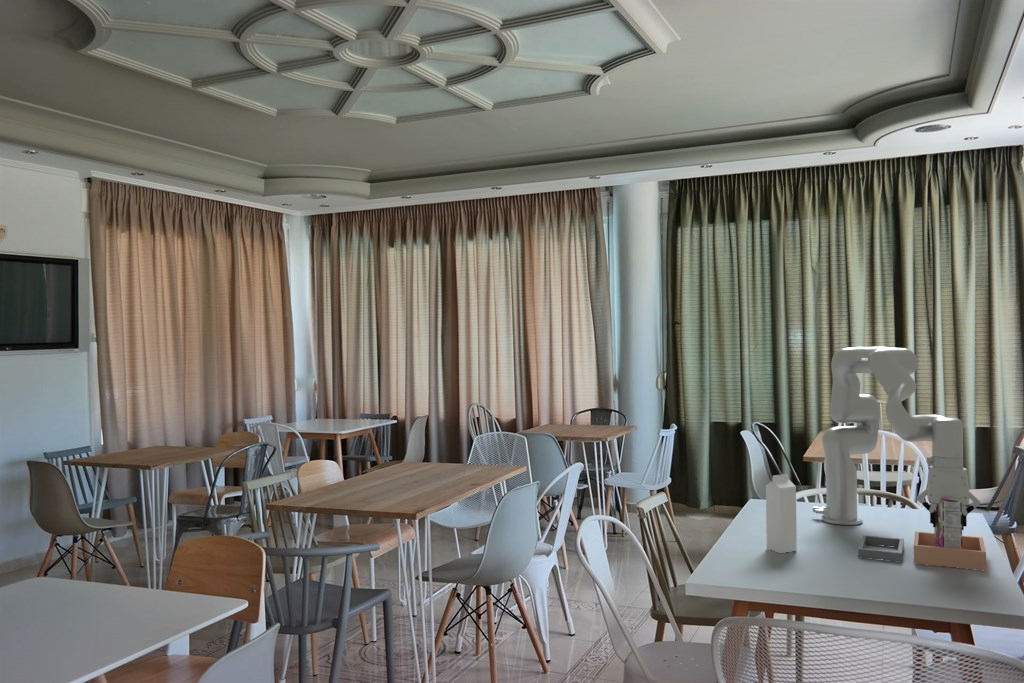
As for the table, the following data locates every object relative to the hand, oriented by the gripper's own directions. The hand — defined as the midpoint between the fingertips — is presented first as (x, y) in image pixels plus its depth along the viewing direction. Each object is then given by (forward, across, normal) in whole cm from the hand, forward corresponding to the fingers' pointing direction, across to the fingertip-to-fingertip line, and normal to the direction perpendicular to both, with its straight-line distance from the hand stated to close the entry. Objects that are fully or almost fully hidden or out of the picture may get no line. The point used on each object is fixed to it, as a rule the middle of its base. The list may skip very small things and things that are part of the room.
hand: (948, 527), depth 223 cm
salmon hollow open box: (+9, 0, 0) cm, 9 cm away
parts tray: (+9, -17, 0) cm, 19 cm away
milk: (+9, -43, -9) cm, 45 cm away
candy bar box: (+8, 0, 0) cm, 8 cm away
